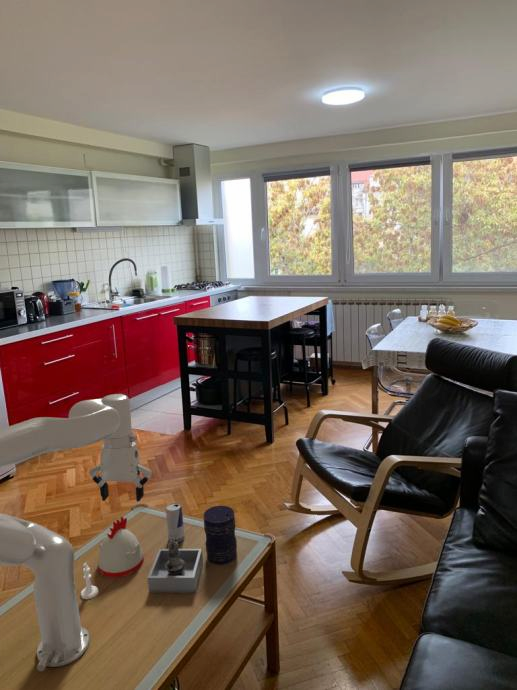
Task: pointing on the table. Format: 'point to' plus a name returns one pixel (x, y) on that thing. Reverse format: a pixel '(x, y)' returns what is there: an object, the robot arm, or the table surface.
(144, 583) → the table surface
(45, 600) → the robot arm
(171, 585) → the box
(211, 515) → the storage jar
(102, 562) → the kitchen timer
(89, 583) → the chess piece
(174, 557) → the grey pawn
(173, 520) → the energy drink
